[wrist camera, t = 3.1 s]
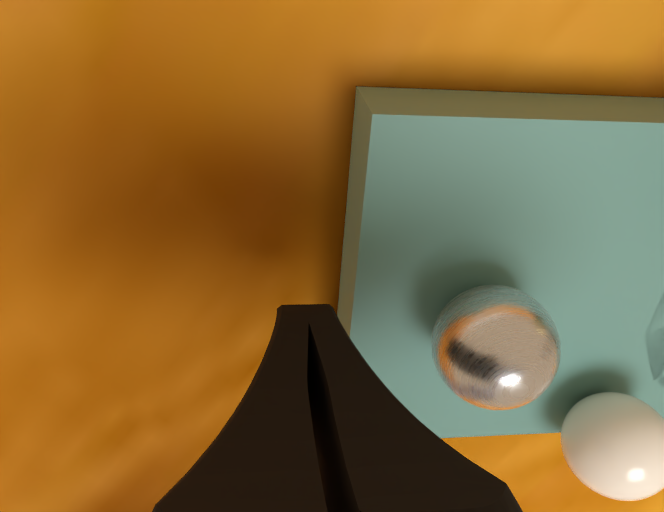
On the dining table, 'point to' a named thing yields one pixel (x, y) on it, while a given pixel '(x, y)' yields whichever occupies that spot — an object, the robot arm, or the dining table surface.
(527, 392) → the steel ball
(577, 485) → the dining table surface
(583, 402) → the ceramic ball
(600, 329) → the bearing plate
